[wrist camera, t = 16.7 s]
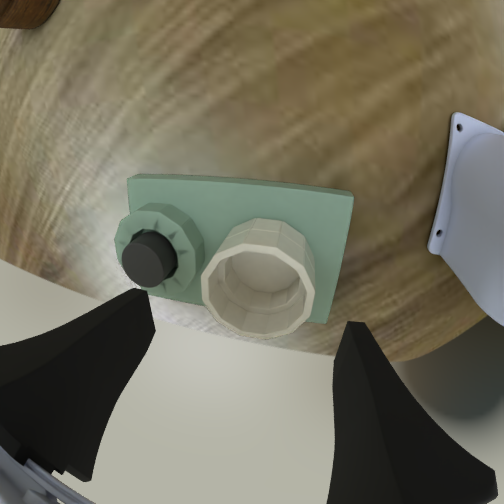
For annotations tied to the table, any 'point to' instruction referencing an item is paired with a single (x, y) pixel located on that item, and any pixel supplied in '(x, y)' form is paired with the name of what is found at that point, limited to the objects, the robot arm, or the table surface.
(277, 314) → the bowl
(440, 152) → the table surface
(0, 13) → the utensil holder
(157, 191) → the green knob panel
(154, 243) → the black knob
